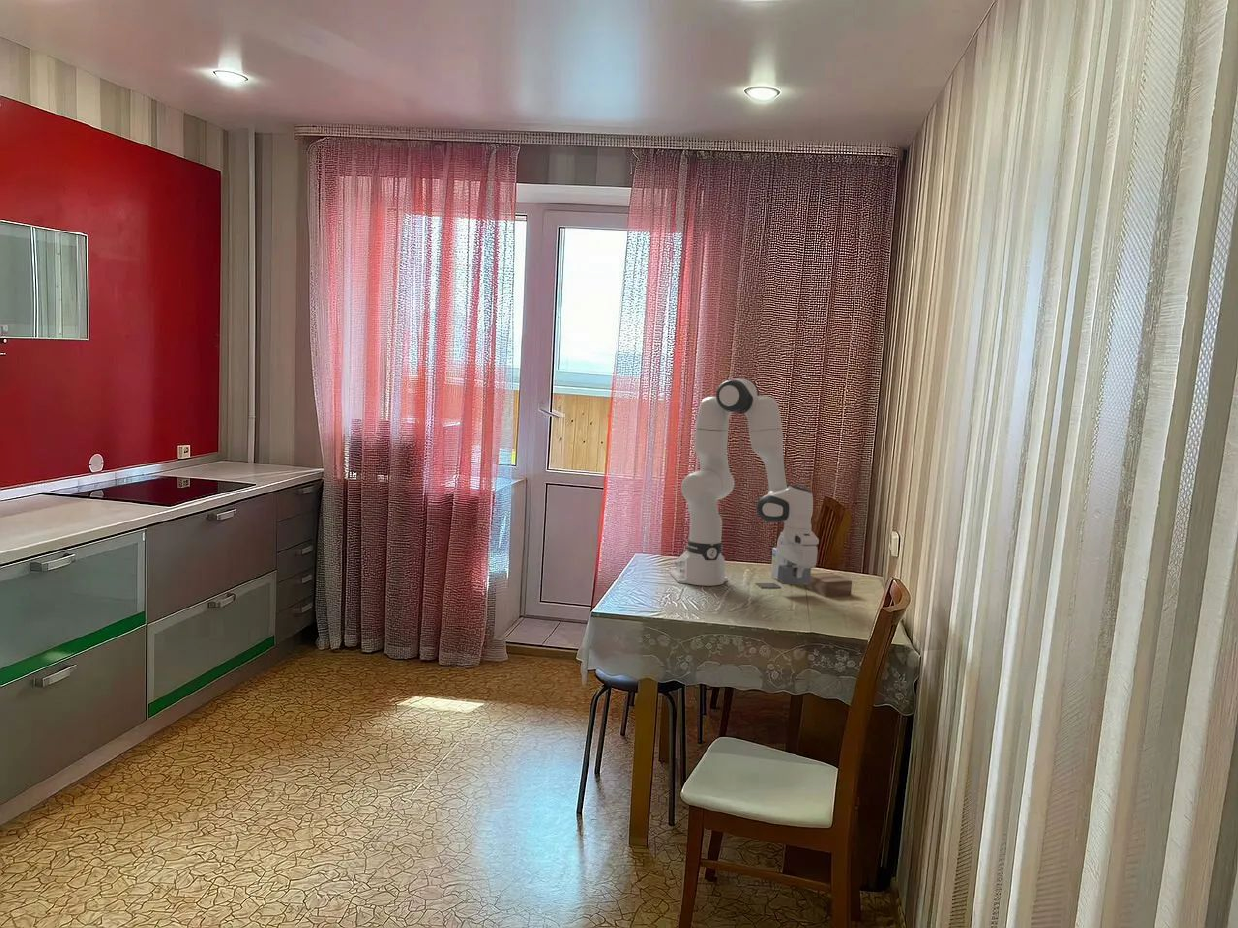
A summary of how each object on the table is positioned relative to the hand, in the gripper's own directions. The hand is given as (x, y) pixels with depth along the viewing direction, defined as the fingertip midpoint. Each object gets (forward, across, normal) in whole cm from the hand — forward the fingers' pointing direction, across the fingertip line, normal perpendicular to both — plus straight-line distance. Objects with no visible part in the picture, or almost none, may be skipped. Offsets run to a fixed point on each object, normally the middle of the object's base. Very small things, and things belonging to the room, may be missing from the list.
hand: (794, 575), depth 309 cm
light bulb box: (+7, -19, +8) cm, 21 cm away
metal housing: (+2, 0, 0) cm, 2 cm away
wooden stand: (+6, -1, +14) cm, 16 cm away
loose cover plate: (+7, -12, -3) cm, 14 cm away
